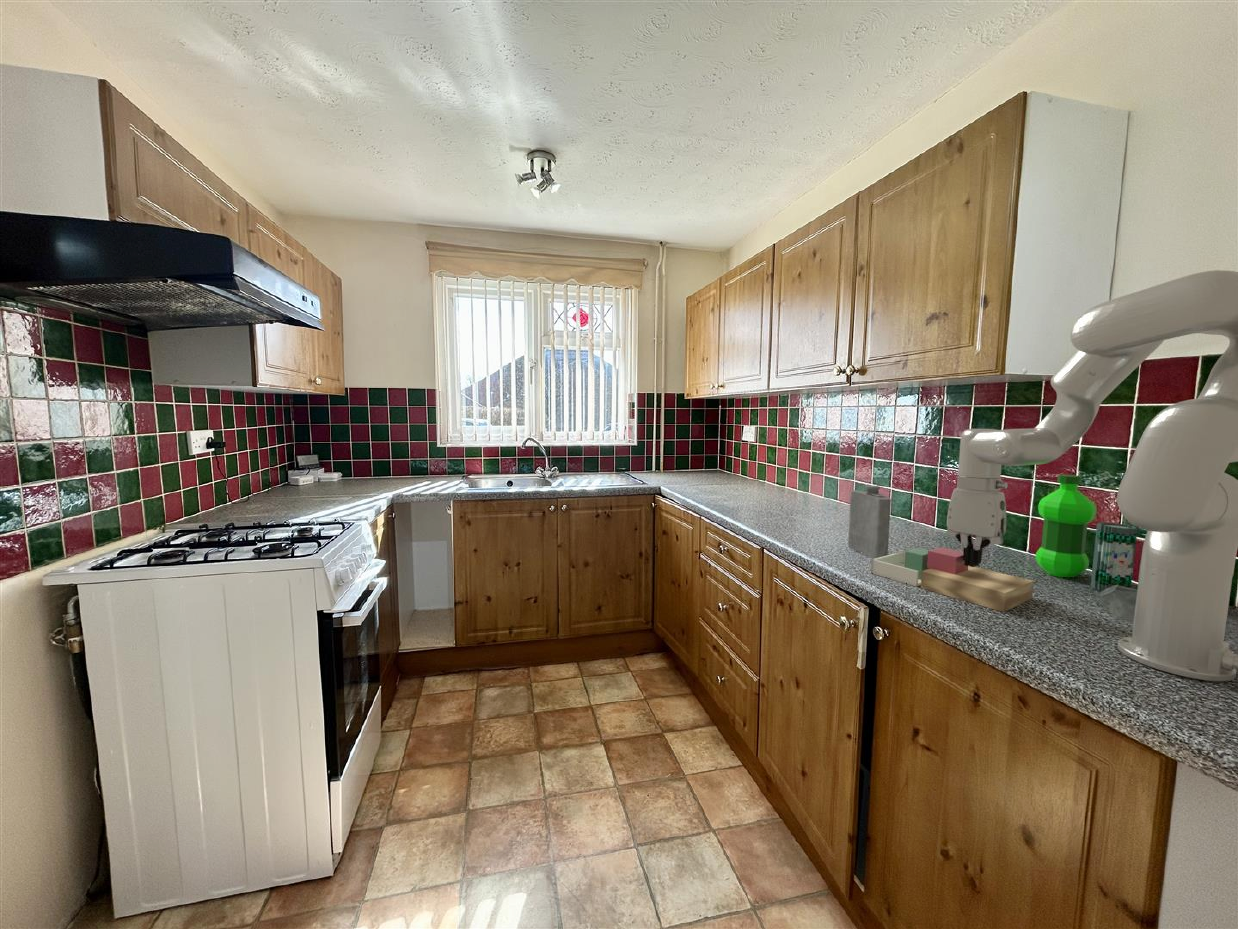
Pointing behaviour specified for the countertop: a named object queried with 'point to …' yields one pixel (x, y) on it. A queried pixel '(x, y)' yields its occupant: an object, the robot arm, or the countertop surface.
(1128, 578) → the green printed upright box
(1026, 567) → the countertop surface
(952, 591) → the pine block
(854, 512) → the hip flask
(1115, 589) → the stone
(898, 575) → the tray
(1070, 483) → the plastic bottle
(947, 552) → the pink toy cube
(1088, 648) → the countertop surface
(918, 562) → the green block
